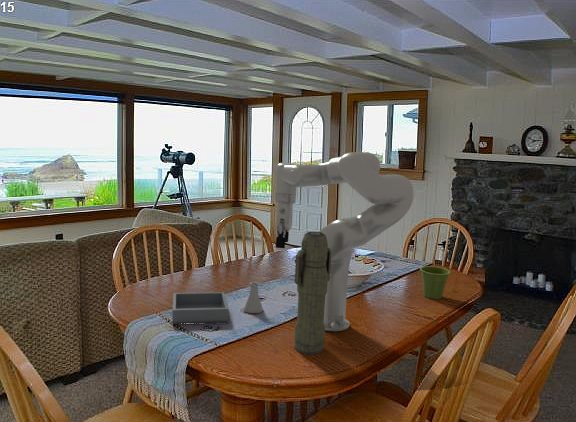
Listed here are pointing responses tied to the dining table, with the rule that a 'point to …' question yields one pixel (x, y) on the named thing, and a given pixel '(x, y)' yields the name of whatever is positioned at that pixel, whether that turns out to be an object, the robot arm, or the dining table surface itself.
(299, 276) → the grey stone statue
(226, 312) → the bin
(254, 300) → the flask
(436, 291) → the plant pot
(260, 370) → the dining table surface
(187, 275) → the dining table surface
